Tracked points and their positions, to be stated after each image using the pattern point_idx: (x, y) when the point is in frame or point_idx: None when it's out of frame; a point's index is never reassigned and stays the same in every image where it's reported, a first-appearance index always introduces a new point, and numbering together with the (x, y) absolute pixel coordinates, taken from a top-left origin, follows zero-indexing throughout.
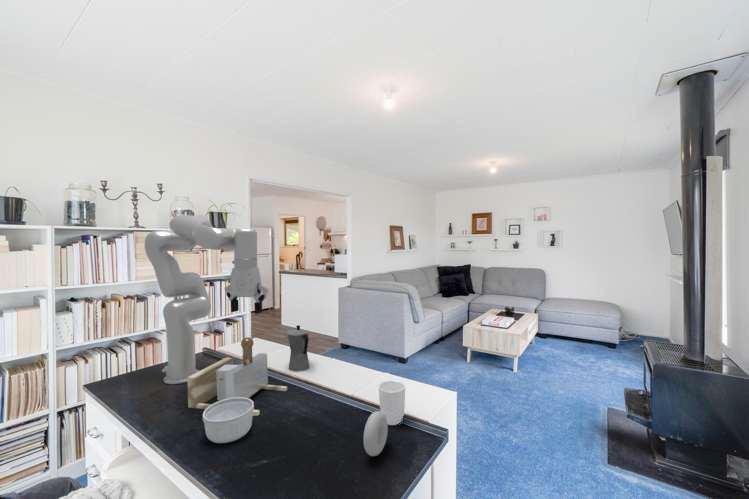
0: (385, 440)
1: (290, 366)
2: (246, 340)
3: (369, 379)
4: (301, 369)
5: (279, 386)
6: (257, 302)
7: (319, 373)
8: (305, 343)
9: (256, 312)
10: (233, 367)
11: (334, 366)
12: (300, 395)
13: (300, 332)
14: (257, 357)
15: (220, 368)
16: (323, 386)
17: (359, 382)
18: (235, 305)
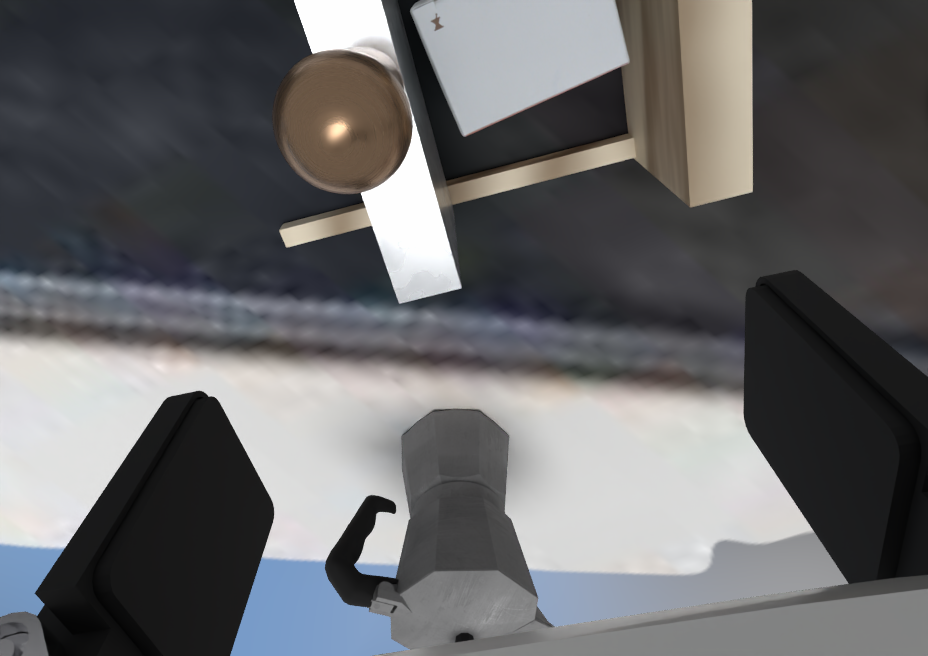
0: None
1: (469, 423)
2: (297, 92)
3: (47, 485)
4: (410, 432)
5: (325, 229)
6: (11, 616)
7: (303, 441)
8: (343, 542)
9: (166, 417)
10: (505, 44)
11: (303, 519)
12: (173, 224)
13: (424, 616)
14: (396, 212)
15: None
16: (163, 348)
17: (57, 446)
18: (809, 433)
